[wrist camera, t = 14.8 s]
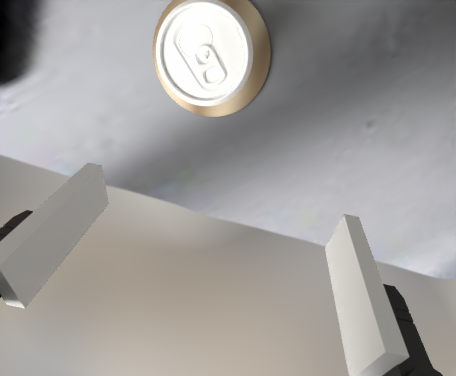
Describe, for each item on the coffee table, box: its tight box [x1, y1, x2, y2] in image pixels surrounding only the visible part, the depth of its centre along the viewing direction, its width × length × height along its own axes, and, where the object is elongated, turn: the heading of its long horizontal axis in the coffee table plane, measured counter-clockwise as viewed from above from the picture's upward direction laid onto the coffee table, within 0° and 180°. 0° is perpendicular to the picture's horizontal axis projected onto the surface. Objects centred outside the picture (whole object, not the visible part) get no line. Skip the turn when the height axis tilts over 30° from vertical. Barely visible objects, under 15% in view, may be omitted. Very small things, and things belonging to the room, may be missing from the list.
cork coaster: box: [153, 0, 271, 117], centre depth 32 cm, size 14×14×1 cm
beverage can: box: [156, 0, 253, 106], centre depth 26 cm, size 8×8×12 cm
